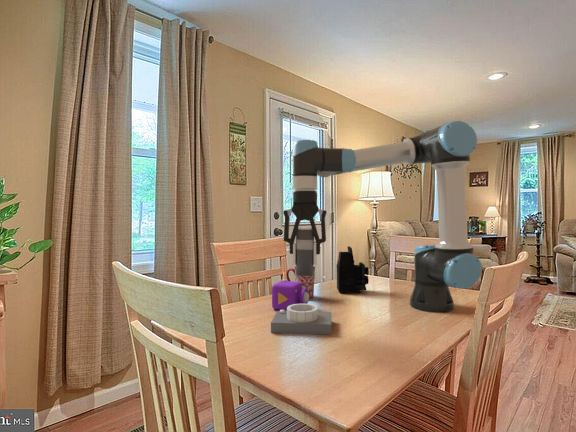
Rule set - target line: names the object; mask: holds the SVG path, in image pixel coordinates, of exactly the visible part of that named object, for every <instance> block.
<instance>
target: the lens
mask: <svg viewBox="0 0 576 432" xmlns="http://www.w3.org/2000/svg"><path fill="white" fill-rule="evenodd" d="M295 243H296V275H300V276H311V275H314V244H315V237H314V234H313V230H312V227H298V229H297V232H296V237H295Z"/></svg>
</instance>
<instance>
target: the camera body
mask: <svg viewBox="0 0 576 432" xmlns="http://www.w3.org/2000/svg"><path fill="white" fill-rule="evenodd" d="M332 322H333V321H332V312H327V311H326V312H325V311H319V307H318V306H317V305H315V304H310V303H307V304H292V305H290V306H288V307H287V311H285V310H277V311H276V313H275V314H274V316H273V319H272V320H271V321H270V333H273V334H275V333H276V334H277V333H278V334H302V335H303V334H305V335H326V336H327V335H329V336H330V335H332Z"/></svg>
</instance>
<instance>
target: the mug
mask: <svg viewBox="0 0 576 432" xmlns="http://www.w3.org/2000/svg"><path fill="white" fill-rule="evenodd" d="M293 266H294V268H289V269H288V270H287V271H286V281H291V279H290V276H289V272H290V271H292V272H293V274H294V279H295V281H294V282H300V283H301V284H302V290H303V289H305V288H307V289H308V292H309V300H311V299H314V294H315V292H314V291H315V290H314V289H315V279H316V278H315V275H316V274H315V273H316V272H315V271H316V266H314V275H311V276H300V275H296V265H293Z"/></svg>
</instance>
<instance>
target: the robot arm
mask: <svg viewBox="0 0 576 432" xmlns="http://www.w3.org/2000/svg"><path fill="white" fill-rule="evenodd" d="M477 144H478V136H477V133H476V131H475V129H474V128H473V127H472V126H470V124H468V123H467V122H466V121H463V120H462V121H461V120H452V121H450V122H445V123H443V124H442V125H440V126H437V127H435V128H432V129H430V130H428V131H425V132H423V133H421V134H418V135H416V136H412V137H407V138H404V139H403V141H400V142H394V143H389V144H382V145H378V146H377V145H376V146H370V147H365V148H358V149H352V148H344V147H341V148H335V147H334V148H333V147H332V148H331V147H319V146H318V142H317V140H315V139H299V140H296V141H295V142H294V143H293V154H292V164H293V166H292V169H293V170H292V173H293V175H292V185H293V186H292V187H293V188H292V189H293V190H294V191H293V192H292V207H291V208H289V209H284V210H283V212H282V213H283V215H284V228H283V229H284V230H283V241H284V242H285V243H288V244H289V254H290V255H292V265H293V266H294V265H296V242H295V241H296V232H297V229H298V228H300V227H299V226H300V224H301V221H309V224H310V228H312V230H313V234H314V242H315V243H314V266H315V267H317V261H318V260H317V255H320V254H321V244H323V243H325V242H326V241H327V234H326V233H327V232H326V230H327V229H326V216H327V210H325V209H321V208H319V206H318V192H317V191H316V190H317V189H318V177H320V178H327V177H330V176H335V175H341V174H347V173H353V172H358V171H364V170H370V169H371V170H372V169H377V168H383V167H386V166H387V167H388V166H393V165H399V164H406V165H408V166H409V165H415V164H428V163H429V164H430V165H431V167H432V168H433V170H435V172H436V192H437V193H436V194H437V216H438V217H437V218H438V219H437V220H438V222H437V223H438V240H439V241H438V242H437V243H436V244H431V245H429V244H428V245H425V244H424V245H417V246H415V248H414V254H413V257H414V285H413V286H414V287H413V289H412V292H411V294H410V298H409V305H410V307H412V308H414V309H417V310H421V311H425V312H433V313H445V312H451V311H453V310H454V309H455V303H454V302H455V301H454V299H453V296H452V293H451V291H450V288H455V289H461V290H462V289H463V290H464V289H465V290H466V289H468V288H471V287H473V286H475V284H476V283H477V282H478V281H479V279H480V278H481V276H482V271H483V265H482V263H481V260H480V259H479V258H478V257H477V256H476V255H474V245H472V244H471V243H470V242H469V239H468V216H467V213H468V212H467V189H466V188H467V187H466V185H467V184H466V167H467V166H469V165H470V163H471V154H472V153H474V150H475V149H476V148H477ZM292 213H293V214H294V216H295V220H294V221H295V222H294V225H293V228H292V233H291V236H290V223H291V222H290V219H291V218H290V216H292ZM317 213H319V214H318V215H319V217H320V226H321V228H320V229H321V230H320V232H321V238H320V236H319V232H318V229H317V226H316V222H315V219H314V217H315V216H316V215H317Z"/></svg>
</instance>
